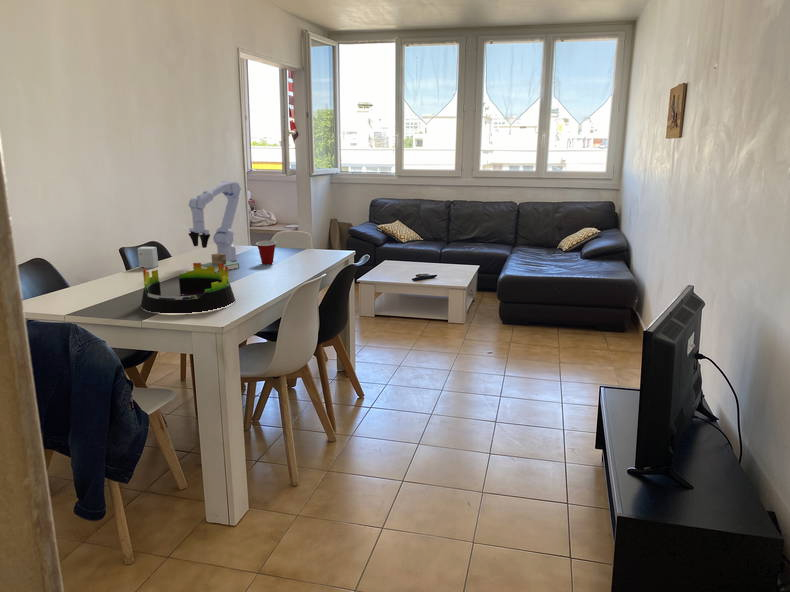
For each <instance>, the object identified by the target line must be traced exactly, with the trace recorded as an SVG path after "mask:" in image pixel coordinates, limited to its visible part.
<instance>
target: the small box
mask: <svg viewBox="0 0 790 592" xmlns="http://www.w3.org/2000/svg"><path fill="white" fill-rule="evenodd" d="M157 250H158V249H157V246H140V247H138V248H137V259H138V266H139V267H138V268H139V269H142V268H141V267H144V268H143V269H155V268H158V267H159V258H158V251H157ZM157 266H158V267H157ZM154 267H155V268H154Z"/></svg>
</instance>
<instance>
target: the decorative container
mask: <svg viewBox="0 0 790 592" xmlns="http://www.w3.org/2000/svg"><path fill="white" fill-rule="evenodd" d="M201 264H202V263H201V262H193V263H192V265H193V270H186V272H185V273H179V277H178V285H179V294H181V295H182V294H201V295H199V296H197V295H183V296H181V295H180V296H178V295H176V296H170V295H162V293H161V291H162V290H161V282H160V280H159V279H160V278H159V270H158V269H155V270H152V271H151V277H150V271H149V270H148V271H147V268H143V270H142V274H143V275H142V276H143V282H144V283H143V285H144V287H143V292H142V297H141V298H142V299H141V303H140V308H141V307H142V308H143V309H145V310H147V311H151V312H160V313H192V312H202V311H208V310H213V309H217V308H221V307H225V306H227V305H229V304H231V303H233V302H234V301H235V302H236V299H235V295H234V292H233V288H232V287H231V286H232V285H231V283H230V279H229V270H228V267H227V266H225V269H224V264H221V263H218V269H219V272H216V273H215V268H214V266H207V268H201Z"/></svg>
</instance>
